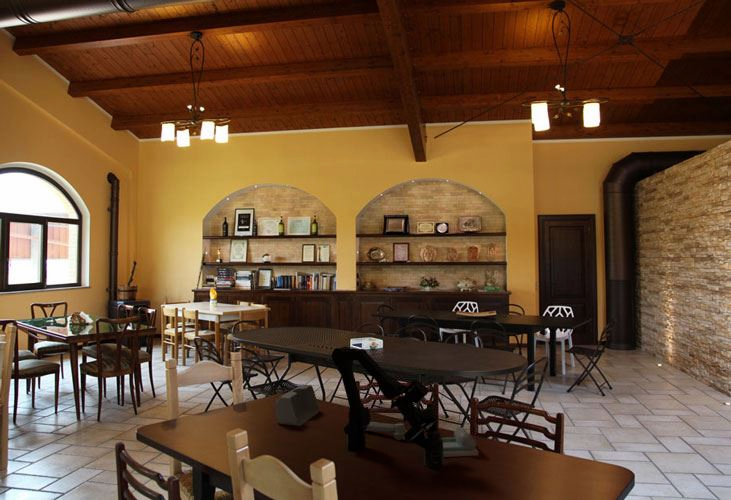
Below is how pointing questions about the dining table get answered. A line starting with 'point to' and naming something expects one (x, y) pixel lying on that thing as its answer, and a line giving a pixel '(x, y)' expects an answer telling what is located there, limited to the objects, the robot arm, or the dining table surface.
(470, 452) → the motor mount
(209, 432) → the dining table surface
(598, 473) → the dining table surface
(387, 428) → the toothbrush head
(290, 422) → the grey faceted block
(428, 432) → the supplement bottle
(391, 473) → the dining table surface
